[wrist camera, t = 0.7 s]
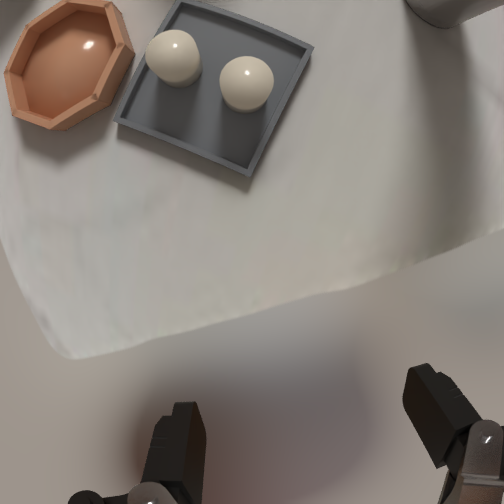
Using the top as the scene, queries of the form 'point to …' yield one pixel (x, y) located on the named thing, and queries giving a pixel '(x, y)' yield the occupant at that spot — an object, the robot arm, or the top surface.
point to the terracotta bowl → (68, 63)
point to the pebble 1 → (174, 58)
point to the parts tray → (215, 87)
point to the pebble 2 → (246, 84)
